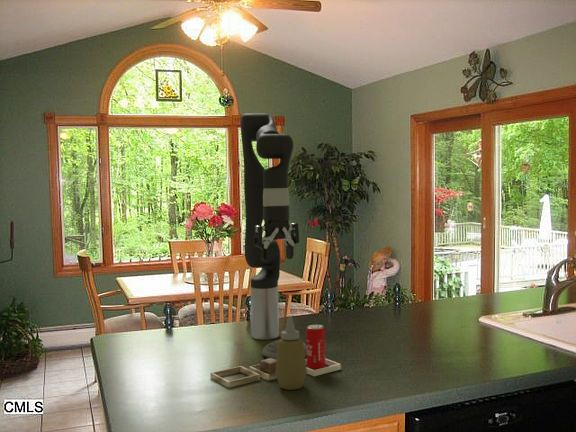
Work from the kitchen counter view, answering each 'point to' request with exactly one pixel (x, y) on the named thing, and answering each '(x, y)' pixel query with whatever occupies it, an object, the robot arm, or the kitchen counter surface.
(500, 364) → the kitchen counter surface
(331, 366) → the pen
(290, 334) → the squeeze bottle
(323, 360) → the beverage can
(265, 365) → the walnut cube
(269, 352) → the flying saucer
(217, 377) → the pen
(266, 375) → the square wooden frame
